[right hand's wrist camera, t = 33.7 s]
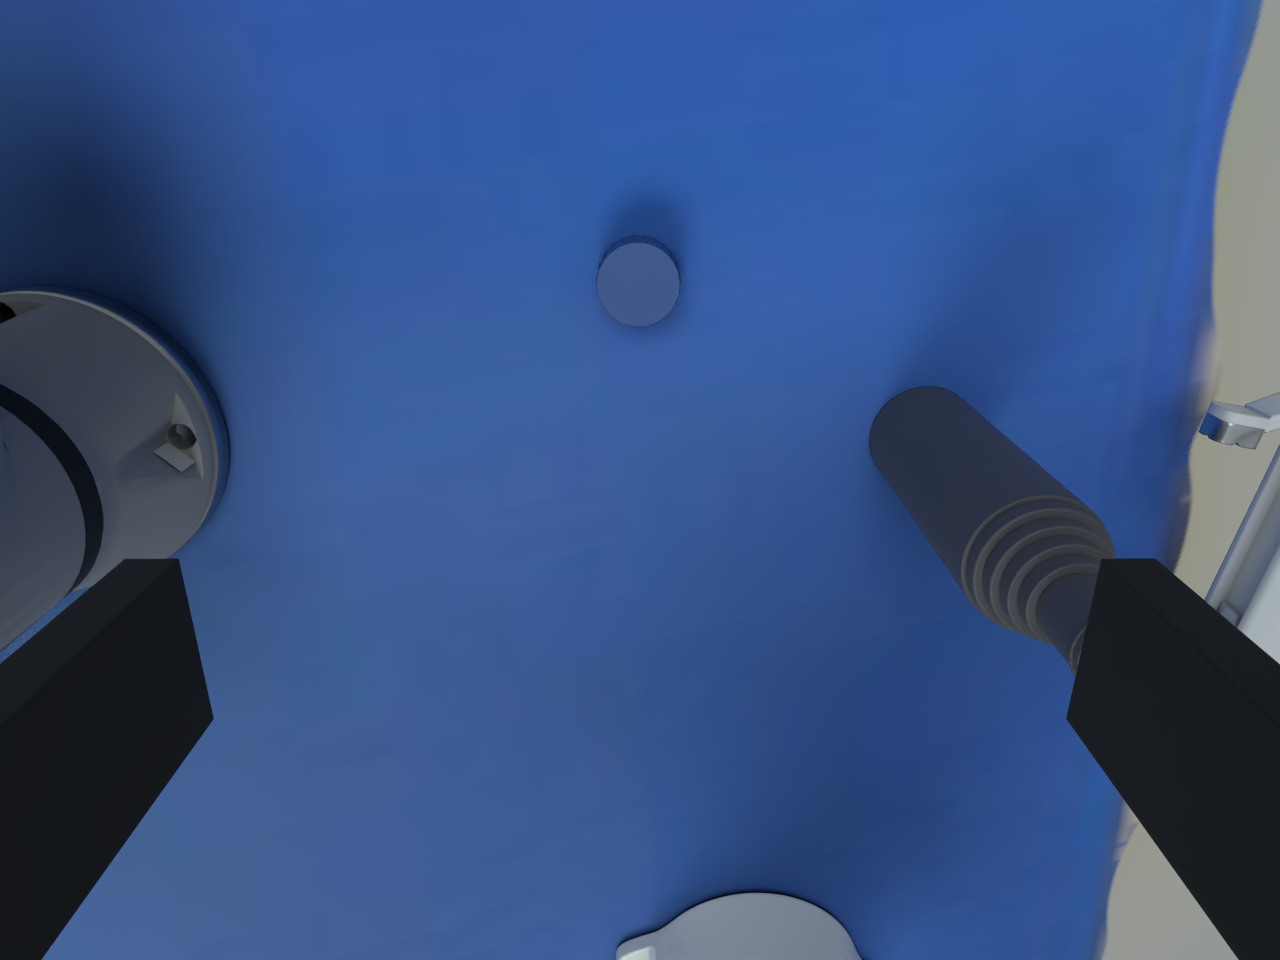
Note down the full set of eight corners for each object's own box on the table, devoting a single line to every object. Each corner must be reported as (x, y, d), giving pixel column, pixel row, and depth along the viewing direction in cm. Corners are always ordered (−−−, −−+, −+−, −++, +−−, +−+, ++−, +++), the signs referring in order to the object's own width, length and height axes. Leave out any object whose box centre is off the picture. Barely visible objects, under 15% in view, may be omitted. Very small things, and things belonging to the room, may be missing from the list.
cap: (693, 258, 43) (696, 266, 41) (655, 330, 44) (656, 342, 42) (620, 219, 42) (619, 225, 40) (584, 293, 44) (581, 304, 41)
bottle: (992, 450, 47) (1239, 679, 28) (899, 503, 48) (1073, 759, 29) (945, 365, 45) (1174, 547, 26) (850, 422, 46) (1000, 637, 27)
